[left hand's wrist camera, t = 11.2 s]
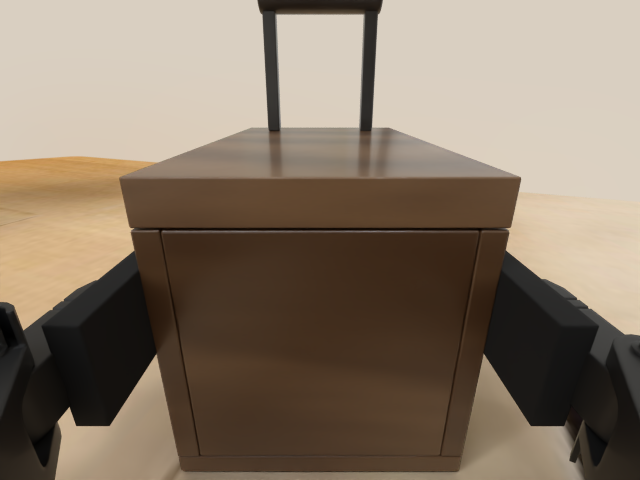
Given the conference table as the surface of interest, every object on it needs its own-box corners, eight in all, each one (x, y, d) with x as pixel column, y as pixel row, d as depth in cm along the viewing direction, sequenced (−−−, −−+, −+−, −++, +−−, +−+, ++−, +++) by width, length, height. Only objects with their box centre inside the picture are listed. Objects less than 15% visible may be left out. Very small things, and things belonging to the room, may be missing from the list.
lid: (252, 147, 25) (240, -18, 21) (388, 147, 25) (399, -19, 21) (129, 229, 9) (-3, -386, 5) (511, 228, 9) (642, -386, 5)
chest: (259, 264, 27) (250, 148, 24) (381, 264, 27) (389, 148, 24) (180, 471, 12) (129, 230, 9) (459, 472, 12) (511, 230, 9)
